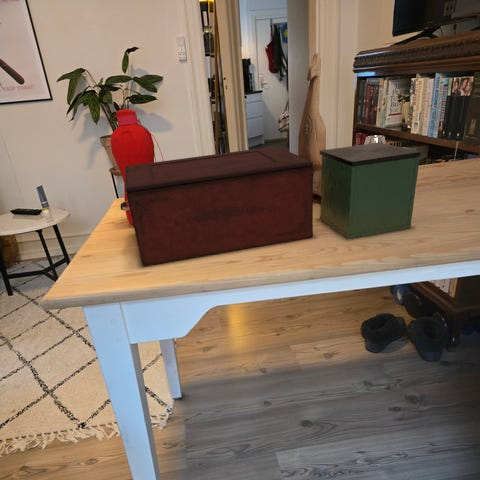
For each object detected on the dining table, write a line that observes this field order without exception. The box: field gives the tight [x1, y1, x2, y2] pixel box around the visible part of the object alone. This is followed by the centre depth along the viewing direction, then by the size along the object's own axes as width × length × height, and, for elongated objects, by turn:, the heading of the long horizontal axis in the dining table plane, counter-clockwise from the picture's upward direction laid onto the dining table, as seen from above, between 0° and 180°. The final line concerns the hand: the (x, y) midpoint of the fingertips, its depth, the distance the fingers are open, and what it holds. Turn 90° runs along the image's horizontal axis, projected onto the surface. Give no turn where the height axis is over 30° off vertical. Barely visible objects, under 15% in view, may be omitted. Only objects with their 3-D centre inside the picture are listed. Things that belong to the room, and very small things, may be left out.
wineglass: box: [363, 134, 387, 145], centre depth 111 cm, size 6×6×12 cm
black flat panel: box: [320, 142, 421, 166], centre depth 80 cm, size 15×14×1 cm
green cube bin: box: [320, 156, 421, 240], centre depth 84 cm, size 14×14×14 cm
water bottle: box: [109, 108, 165, 226], centre depth 96 cm, size 9×11×25 cm
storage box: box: [120, 145, 314, 267], centre depth 86 cm, size 39×23×15 cm, turn 104°
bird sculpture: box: [297, 52, 327, 198], centre depth 100 cm, size 11×12×32 cm
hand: (439, 12), depth 56 cm, fingers closed
